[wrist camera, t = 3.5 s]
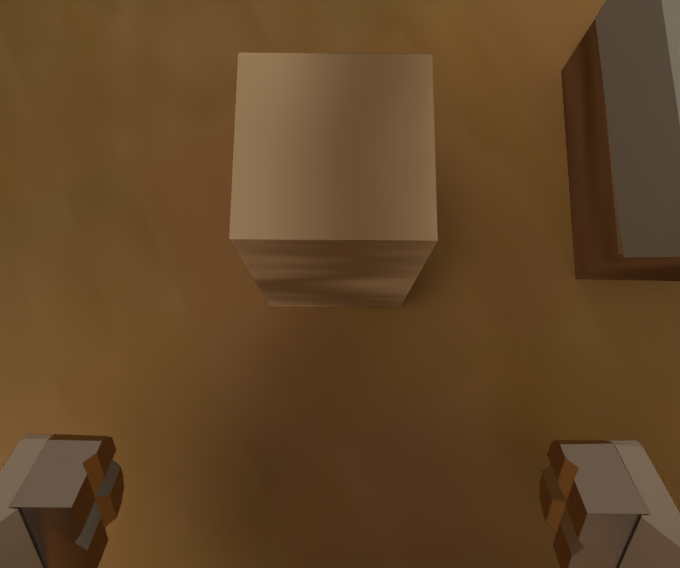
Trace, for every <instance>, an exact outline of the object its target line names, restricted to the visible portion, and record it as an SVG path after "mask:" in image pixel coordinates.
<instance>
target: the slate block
mask: <svg viewBox="0 0 680 568" xmlns="http://www.w3.org/2000/svg"><path fill="white" fill-rule="evenodd" d="M595 20H596V28H597V37H598V45H599V54H600V62H601V71H602V79H603V88H604V96H605V104H606V113H607V121H608V130H609V138H610V147H611V155H612V164H613V172H614V180H615V189H616V197H617V206H618V214H619V223H620V231H621V240H622V248H623V257H680V0H606V2H605V3H604V5H603V6H602V8H601V9H600V11H599V13H598V14H597V16H596V17H595Z"/></svg>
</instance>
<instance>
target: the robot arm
mask: <svg viewBox="0 0 680 568" xmlns="http://www.w3.org/2000/svg"><path fill="white" fill-rule="evenodd" d="M115 452H116V448H115V445H114V442H113V439H112V437H109V436H90V435H63V434H54V435H52V434H27V435H26V436H24V437H23V438H22V439H20V440H19V442H18V444H17V445H16V447H15V448H14V450H13V452H12V453H11V455H10V457H9V458H8V460H7V462H6V463H5V465H4V466H3V468H2V470H1V471H0V568H98V565H99V563H100V560H101V558H102V555H103V552H104V550H105V547H106V544H107V542H108V537H107V534H106V531H105V527H106V526H107V525H109V524H110V523H111V522H112V521H113V520H114V519H116V518H117V515H118V512H119V509H120V506H121V503H122V497H123V490H124V480H123V473H122V469H121V466H120V465H118V464H117V463H116V462H115V461H113V460H112V459H113V457H114V454H115ZM547 455H548V458H549V461H550V464H551V465H550V466H549V467H547V468H546V469H545V470H543V472H542V476H541V480H540V502H541V508H542V512H543V515H544V518H545V522H546V523H547V524H548V525H549V526H550V527H551V528H552V529H553V530H555V531H556V532H557V533H556V536H555V539H554V543H553V546H554V549H555V552H556V555H557V558H558V562H559V565H560V568H680V512H679V510H678V508H677V507H676V505H675V503H674V501H673V499H672V498H671V496H670V494H669V492H668V491H667V489H666V487H665V485H664V483H663V482H662V480H661V478H660V476H659V474H658V473H657V471H656V469H655V467H654V465H653V464H652V462H651V460H650V458H649V457H648V455H647V453H646V451H645V449H644V448H643V446H642V444H640V443H639V442H638V441H625V440H609V441H606V440H554V441H553V442H552V443H551V444H550V447H549V450H548V454H547Z"/></svg>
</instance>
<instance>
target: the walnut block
mask: <svg viewBox="0 0 680 568" xmlns="http://www.w3.org/2000/svg"><path fill="white" fill-rule="evenodd" d="M561 73H562V87H563V102H564V117H565V131H566V146H567V160H568V175H569V189H570V204H571V219H572V233H573V248H574V262H575V277H576V279H606V280H663V281H680V257H623V248H622V240H621V231H620V223H619V214H618V206H617V197H616V189H615V180H614V172H613V164H612V155H611V147H610V138H609V130H608V121H607V113H606V104H605V96H604V88H603V79H602V71H601V62H600V54H599V45H598V37H597V28H596V20H594V21H593V23H592V24H591V26H590V27H589V29H588V31H587V32H586V34H585V35H584V37H583V38H582V40H581V42H580V43H579V45H578V46H577V48H576V49H575V51H574V52H573V54H572V56H571V57H570V59H569V60H568V62H567V63H566V65H565V67H564V68H563V70H562V71H561Z"/></svg>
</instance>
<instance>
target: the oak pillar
mask: <svg viewBox="0 0 680 568" xmlns="http://www.w3.org/2000/svg"><path fill="white" fill-rule="evenodd" d="M229 240H230V241H231V243H232V245H233V246H234V248H235V249H236V251H237V253H238V254H239V256H240V258H241V259H242V261H243V262H244V264H245V266H246V267H247V269H248V270H249V272H250V274H251V275H252V277H253V279H254V280H255V282H256V283H257V285H258V287H259V288H260V290H261V291H262V293H263V295H264V296H265V298H266V299H267V301H268V303H269V304H270V306H284V307H401V305H402V303H403V302H404V300H405V298H406V296H407V295H408V293H409V291H410V289H411V287H412V286H413V284H414V282H415V280H416V279H417V277H418V275H419V273H420V272H421V270H422V268H423V266H424V264H425V263H426V261H427V259H428V257H429V256H430V254H431V252H432V250H433V248H434V247H435V245H436V243H437V241H438V228H437V194H436V160H435V126H434V91H433V57H432V54H354V53H238V67H237V88H236V108H235V129H234V149H233V169H232V190H231V210H230V231H229Z"/></svg>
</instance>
